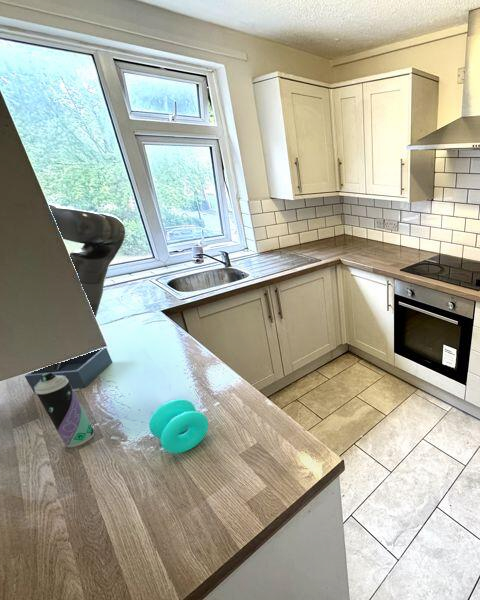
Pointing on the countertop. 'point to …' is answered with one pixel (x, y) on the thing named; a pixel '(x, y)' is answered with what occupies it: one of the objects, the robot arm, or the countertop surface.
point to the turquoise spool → (178, 425)
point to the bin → (77, 369)
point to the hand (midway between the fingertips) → (60, 362)
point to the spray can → (64, 409)
